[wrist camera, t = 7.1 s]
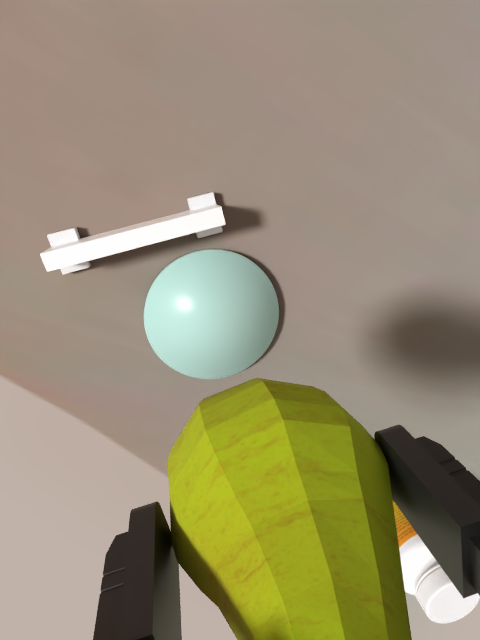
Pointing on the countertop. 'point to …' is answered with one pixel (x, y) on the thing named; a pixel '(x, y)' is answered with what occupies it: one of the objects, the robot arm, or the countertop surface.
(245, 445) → the fruit
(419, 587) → the supplement bottle
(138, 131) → the countertop surface
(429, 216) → the countertop surface
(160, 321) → the pad
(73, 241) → the rail
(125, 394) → the countertop surface
